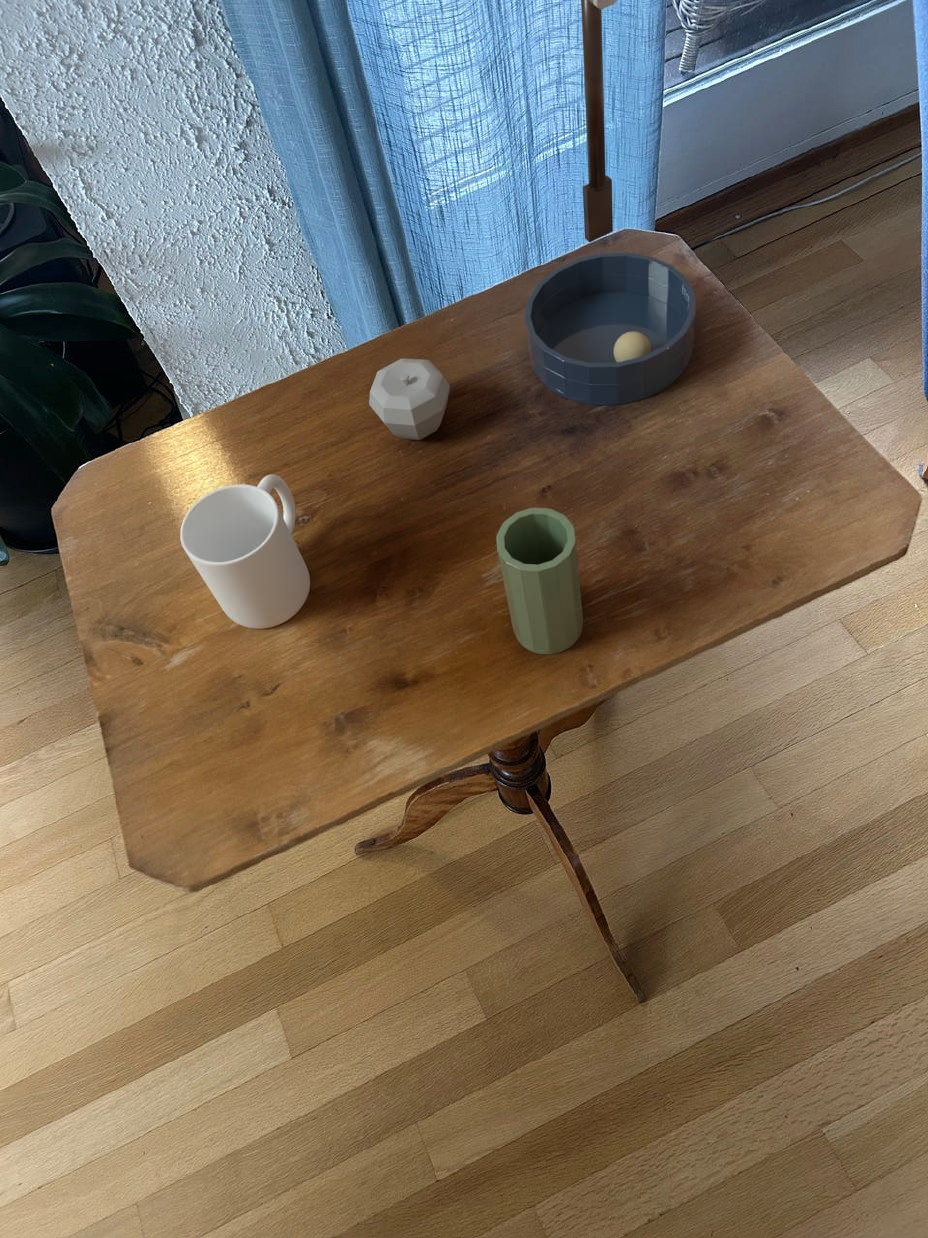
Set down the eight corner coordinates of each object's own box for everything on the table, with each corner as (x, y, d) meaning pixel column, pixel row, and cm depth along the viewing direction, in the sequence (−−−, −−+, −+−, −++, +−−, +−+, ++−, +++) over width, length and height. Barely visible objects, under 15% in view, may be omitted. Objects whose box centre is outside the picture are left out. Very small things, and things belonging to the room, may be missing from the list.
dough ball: (638, 346, 98) (637, 318, 95) (658, 367, 96) (659, 338, 93) (606, 362, 97) (605, 333, 94) (627, 383, 96) (626, 355, 93)
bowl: (634, 271, 105) (634, 230, 101) (726, 357, 96) (730, 317, 92) (501, 336, 103) (495, 297, 98) (584, 430, 94) (581, 392, 90)
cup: (207, 620, 88) (161, 552, 80) (265, 517, 94) (229, 444, 86) (288, 641, 86) (250, 573, 77) (343, 533, 91) (313, 460, 83)
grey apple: (462, 446, 95) (452, 396, 90) (383, 464, 95) (367, 415, 90) (450, 388, 100) (439, 338, 94) (374, 406, 100) (359, 356, 94)
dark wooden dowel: (606, 225, 86) (598, -82, 66) (615, 233, 85) (610, -75, 66) (582, 236, 86) (567, -69, 66) (591, 244, 85) (578, -62, 65)
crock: (559, 584, 85) (549, 495, 75) (596, 634, 82) (590, 547, 72) (500, 616, 84) (482, 529, 74) (536, 667, 81) (521, 584, 71)
